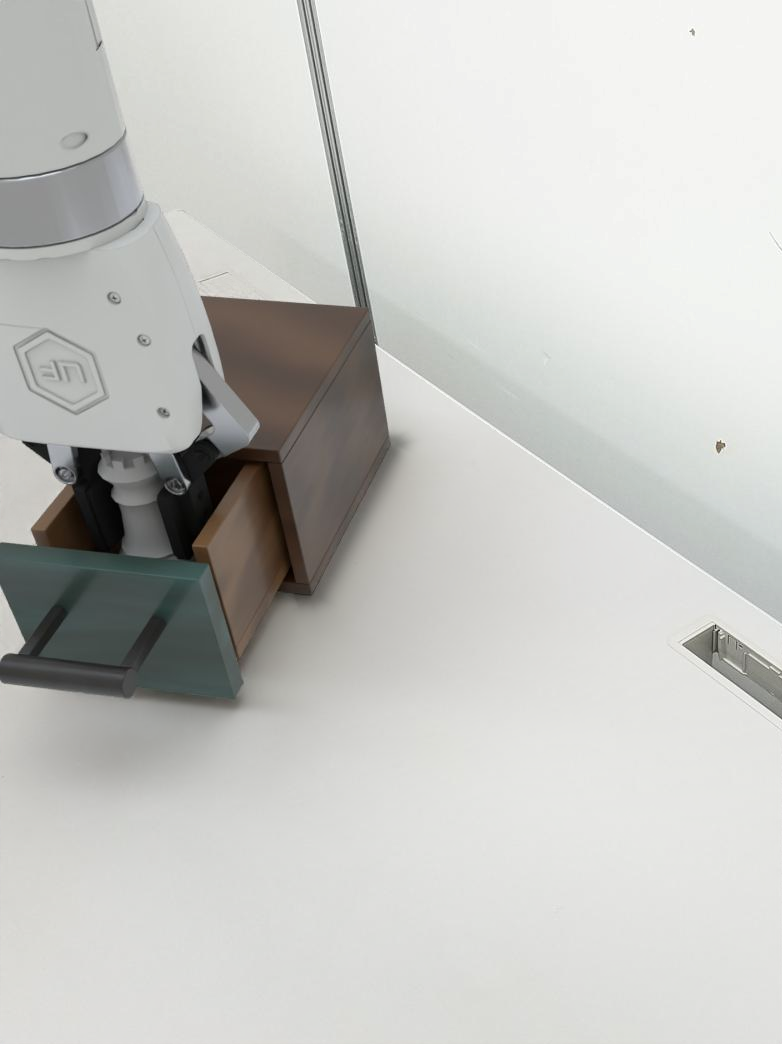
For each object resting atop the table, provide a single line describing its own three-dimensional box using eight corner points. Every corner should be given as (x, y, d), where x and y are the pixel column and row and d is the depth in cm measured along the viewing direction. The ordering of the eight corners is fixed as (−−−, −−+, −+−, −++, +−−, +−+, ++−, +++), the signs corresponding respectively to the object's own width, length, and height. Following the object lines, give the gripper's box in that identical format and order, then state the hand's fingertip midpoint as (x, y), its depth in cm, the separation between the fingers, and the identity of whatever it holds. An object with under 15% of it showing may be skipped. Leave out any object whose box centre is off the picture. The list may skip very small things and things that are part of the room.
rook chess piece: (182, 611, 63) (140, 481, 58) (106, 593, 64) (58, 464, 59) (229, 556, 66) (194, 428, 61) (156, 540, 67) (115, 413, 62)
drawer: (195, 772, 59) (153, 651, 54) (-10, 746, 60) (-71, 625, 55) (326, 530, 72) (302, 414, 67) (155, 513, 74) (119, 399, 68)
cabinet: (312, 595, 69) (279, 450, 63) (114, 574, 71) (63, 431, 65) (390, 444, 80) (369, 307, 74) (217, 428, 82) (182, 293, 75)
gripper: (-199, 214, 50) (-35, 570, 62) (196, 240, 47) (286, 605, 60) (-90, 139, 55) (41, 479, 68) (270, 159, 53) (338, 508, 65)
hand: (155, 535), depth 63 cm, fingers closed on rook chess piece, 3 cm apart
